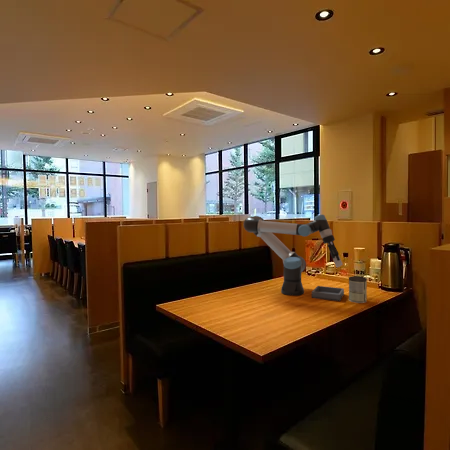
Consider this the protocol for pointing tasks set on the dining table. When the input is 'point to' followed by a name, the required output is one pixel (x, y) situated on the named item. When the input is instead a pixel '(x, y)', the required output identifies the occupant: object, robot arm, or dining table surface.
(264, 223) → the robot arm
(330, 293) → the tray
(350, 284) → the coffee can
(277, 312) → the dining table surface
